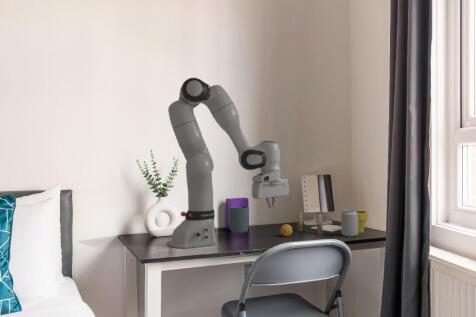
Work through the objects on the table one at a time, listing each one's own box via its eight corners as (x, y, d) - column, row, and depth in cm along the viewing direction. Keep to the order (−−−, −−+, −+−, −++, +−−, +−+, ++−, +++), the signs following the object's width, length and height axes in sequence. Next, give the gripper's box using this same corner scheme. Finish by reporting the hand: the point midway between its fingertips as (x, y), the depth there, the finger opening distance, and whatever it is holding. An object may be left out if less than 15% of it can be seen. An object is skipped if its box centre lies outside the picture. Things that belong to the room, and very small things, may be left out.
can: (358, 237, 212) (358, 210, 211) (341, 237, 213) (341, 210, 213) (357, 234, 219) (357, 208, 219) (341, 234, 220) (340, 208, 220)
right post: (319, 234, 221) (319, 215, 221) (315, 233, 223) (315, 214, 223) (323, 233, 222) (323, 214, 222) (319, 232, 224) (319, 214, 224)
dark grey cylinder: (231, 233, 228) (230, 208, 227) (227, 229, 238) (227, 206, 237) (251, 232, 230) (251, 207, 230) (246, 228, 240) (246, 205, 239)
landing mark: (331, 231, 227) (331, 231, 227) (309, 228, 238) (309, 227, 238) (349, 228, 236) (349, 227, 236) (327, 224, 247) (327, 224, 247)
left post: (300, 230, 231) (300, 212, 230) (296, 230, 233) (296, 212, 232) (303, 230, 232) (303, 212, 232) (299, 229, 234) (299, 211, 234)
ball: (286, 237, 213) (286, 225, 213) (278, 236, 218) (277, 224, 218) (294, 236, 217) (294, 224, 217) (286, 234, 221) (286, 223, 221)
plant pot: (370, 233, 221) (370, 212, 221) (348, 233, 221) (348, 213, 221) (365, 229, 231) (364, 209, 231) (343, 229, 231) (343, 210, 231)
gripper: (282, 175, 220) (283, 204, 220) (249, 177, 207) (250, 209, 207) (292, 175, 215) (292, 205, 215) (259, 178, 202) (259, 210, 202)
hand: (271, 207), depth 211 cm, fingers closed
